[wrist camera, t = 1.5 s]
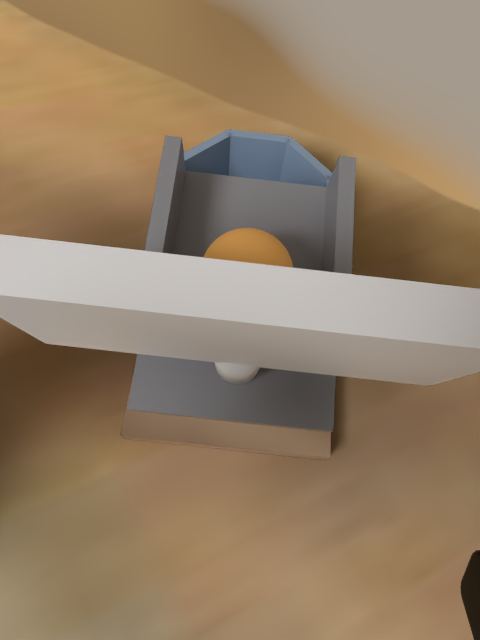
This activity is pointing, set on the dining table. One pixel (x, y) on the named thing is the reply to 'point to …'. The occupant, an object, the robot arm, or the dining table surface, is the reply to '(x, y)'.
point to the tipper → (241, 303)
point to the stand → (225, 434)
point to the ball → (249, 248)
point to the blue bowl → (257, 158)
